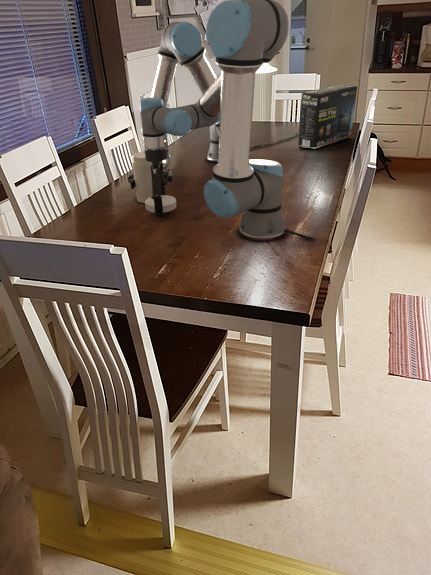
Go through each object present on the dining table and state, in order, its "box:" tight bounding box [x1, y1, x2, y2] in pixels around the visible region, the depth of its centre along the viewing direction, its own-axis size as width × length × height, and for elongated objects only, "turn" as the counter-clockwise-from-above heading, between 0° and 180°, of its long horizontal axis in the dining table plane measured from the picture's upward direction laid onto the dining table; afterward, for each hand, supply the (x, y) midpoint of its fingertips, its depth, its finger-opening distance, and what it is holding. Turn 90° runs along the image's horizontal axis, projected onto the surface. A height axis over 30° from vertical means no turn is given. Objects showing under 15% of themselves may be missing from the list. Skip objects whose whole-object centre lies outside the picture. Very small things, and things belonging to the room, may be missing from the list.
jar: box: [131, 150, 153, 204], centre depth 176 cm, size 10×10×17 cm
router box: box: [297, 84, 358, 151], centre depth 238 cm, size 36×11×27 cm, turn 134°
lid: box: [144, 194, 177, 214], centre depth 163 cm, size 11×11×2 cm
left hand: (146, 185), depth 174 cm, fingers closed on jar, 10 cm apart
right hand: (161, 209), depth 164 cm, fingers closed on lid, 11 cm apart
